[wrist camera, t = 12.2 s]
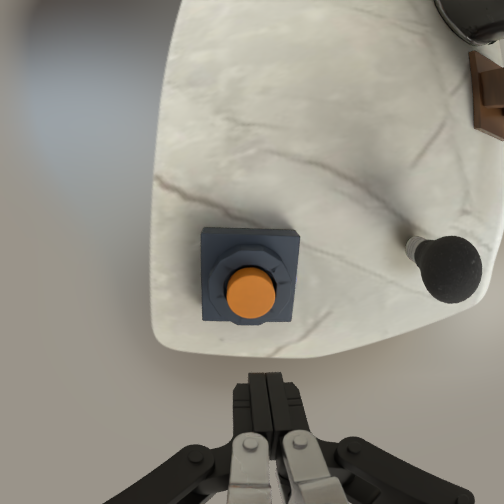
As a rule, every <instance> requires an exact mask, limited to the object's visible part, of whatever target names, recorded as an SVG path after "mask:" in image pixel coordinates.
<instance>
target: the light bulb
mask: <svg viewBox="0 0 504 504" xmlns="http://www.w3.org/2000/svg"><path fill="white" fill-rule="evenodd" d="M405 251H406V255H407V256H408V257H409V259H411V260H412V261H414V262H415V263H416V264H417V266H418V267H419V268H420V270H421V276H422V280H423V282H424V284H425V287H426V288H427V290H428V291H429V293H430V294H431V295H432V296H433V297H434V298H436V299H437V300H439V301H441V302H444V303H451V304H452V303H459V302H462V301H464V300H466V299H467V298H469V297H470V296H471V295H472V294H473V293H474V292H475V291H476V289H477V288H478V285H479V283H480V280H481V276H482V262H481V259H480V256H479V253H478V252H477V250H476V248H475V247H474V246H473V245H472V244H471V243H470V242H469V241H467V240H466V239H464V238H461V237H457V236H445V237H442V238H439V239H437V240H426V239H424V238H422V237H419V236H414V237H412V238H410V239H409V240H408V242H407V244H406V248H405Z"/></svg>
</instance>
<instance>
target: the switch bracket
mask: <svg viewBox="0 0 504 504" xmlns="http://www.w3.org/2000/svg"><path fill="white" fill-rule="evenodd" d="M469 59H470V67H471V76H472V88H473V104H474V129H477V130H479V131H482V132H484V133H486V134H488V135H491V136H493V137H495V138H497V139H499V140H501V141H504V68H502V67H500V66H499V65H497V64H496V63H494V62H493V61H491V60H490V59H488V58H486V57H485V56H483V55H481V54H480V53H478V52H476V51H475V50H474V51H471V52H469Z"/></svg>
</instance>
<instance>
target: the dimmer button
mask: <svg viewBox="0 0 504 504" xmlns="http://www.w3.org/2000/svg"><path fill="white" fill-rule="evenodd" d="M274 301H275V291H274V288H273V284H272V281H271V279H270V277H269V276H268V274H267V273H265V272H264V271H263V270H261V269H258V268H254V267H247V268H243V269H240V270H238V271H236V272H235V273H234V274H233V275H232V276H231V277H230V279H229V281H228V285H227V303H228V305H229V307H230V309H231V310H232V311H233V312H234V313H235V314H237V315H238V316H241V317H244V318H257V317H260V316H262V315H264V314H266V313H267V312H268V311H269V310H270V309H271V308H272V306H273V304H274Z"/></svg>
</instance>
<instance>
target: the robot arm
mask: <svg viewBox="0 0 504 504" xmlns="http://www.w3.org/2000/svg"><path fill="white" fill-rule="evenodd" d="M434 1H435V4H436V6H437V8H438V10H439V12H440V14H441V15H442V17H443V18H444V20H445V21H446V23H447V24H448V25H449V26H450V28H451V29H452V30H453V31H454V32H455V33H456V34H457V35H458V36H459V37H461V38H462V39H463V40H464V41H466V42H468V43H469V44H471V45H474V46H482V45H485V44H487V43H489V42H491V43H489V44H488V45H490V44H493V43H494V42H496V41H497V40H500V39H504V0H434ZM269 459H270V460H276V465H277V468H276V477H277V482H278V486H279V490H280V494H281V498H282V502H283V504H349V503H348V502H350V503H352V504H474V503H475V499H474V496H473V494H472V493H471V492H470V491H469V490H467V489H464V488H462V487H460V486H457V485H455V484H452V483H450V482H447V481H445V480H443V479H441V478H439V477H436V476H434V475H432V474H430V473H427V472H425V471H423V470H421V469H419V468H417V467H415V466H413V465H411V464H409V463H407V462H405V461H403V460H401V459H399V458H397V457H395V456H393V455H391V454H389V453H387V452H385V451H383V450H382V449H380V448H378V447H376V446H374V445H373V444H371V443H369V442H367V441H365V440H364V439H362V438H359V437H347V438H344V439H343V440H341V441H340V442H339V443H335V442H326V441H322V440H320V439H318V438H316V437H315V436H314V435H313V434H312V433H311V432H310V429H309V426H308V422H307V418H306V415H305V411H304V407H303V403H302V400H301V396H300V392H299V389H298V388H297V387H296V386H295V385H294V384H293V382H288V383H284V382H283V378H282V374H281V372H271V373H270V372H269V373H265V374H264V373H249V374H248V384H237V385H236V387H235V388H234V390H233V438H232V439H231V441H230V442H229V443H228V444H226V445H224V446H222V447H219V448H215V449H209V448H207V447H205V446H202V445H189V446H186V447H184V448H182V449H181V450H180V451H179V452H177V453H176V454H175V455H173V456H172V457H171V458H169V459H168V460H167V461H165V462H164V463H163V464H161V465H160V466H159V467H157V468H156V469H154V470H153V471H152V472H151V473H149V474H148V475H146V476H144V477H143V478H142V479H140V480H139V481H137V482H136V483H134V484H133V485H131V486H130V487H128V488H127V489H125V490H124V491H122V492H121V493H119V494H118V495H116V496H114V497H113V498H111V499H110V500H108V501H106V502H105V503H103V504H205V503H206V502H207V501H208V500H209V499H211V498H212V497H213V496H214V495H215V494H216V493H217V492H221V491H225V490H228V494H227V504H272V499H271V498H272V497H271V486H270V483H269Z"/></svg>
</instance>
